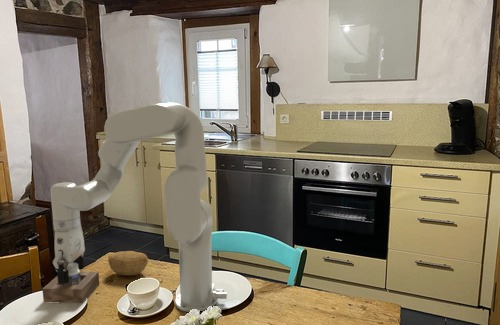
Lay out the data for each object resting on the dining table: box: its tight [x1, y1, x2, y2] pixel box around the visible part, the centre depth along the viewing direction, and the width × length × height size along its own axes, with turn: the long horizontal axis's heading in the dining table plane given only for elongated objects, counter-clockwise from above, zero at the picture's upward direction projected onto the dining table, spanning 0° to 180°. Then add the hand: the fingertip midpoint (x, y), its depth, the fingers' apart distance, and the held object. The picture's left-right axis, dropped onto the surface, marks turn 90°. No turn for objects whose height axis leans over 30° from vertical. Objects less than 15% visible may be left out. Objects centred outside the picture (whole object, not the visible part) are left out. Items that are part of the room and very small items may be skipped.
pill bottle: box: [64, 262, 81, 285], centre depth 124 cm, size 5×5×8 cm
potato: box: [107, 250, 149, 277], centre depth 138 cm, size 10×14×8 cm
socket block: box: [42, 271, 100, 304], centre depth 125 cm, size 12×12×4 cm
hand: (71, 275), depth 124 cm, fingers open, 9 cm apart
